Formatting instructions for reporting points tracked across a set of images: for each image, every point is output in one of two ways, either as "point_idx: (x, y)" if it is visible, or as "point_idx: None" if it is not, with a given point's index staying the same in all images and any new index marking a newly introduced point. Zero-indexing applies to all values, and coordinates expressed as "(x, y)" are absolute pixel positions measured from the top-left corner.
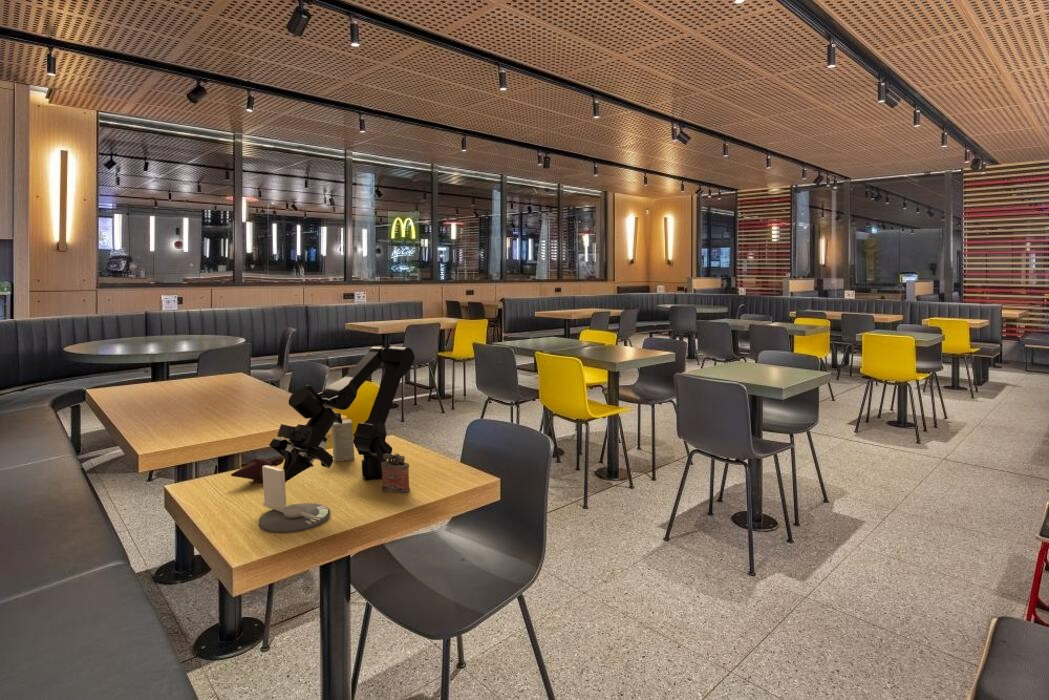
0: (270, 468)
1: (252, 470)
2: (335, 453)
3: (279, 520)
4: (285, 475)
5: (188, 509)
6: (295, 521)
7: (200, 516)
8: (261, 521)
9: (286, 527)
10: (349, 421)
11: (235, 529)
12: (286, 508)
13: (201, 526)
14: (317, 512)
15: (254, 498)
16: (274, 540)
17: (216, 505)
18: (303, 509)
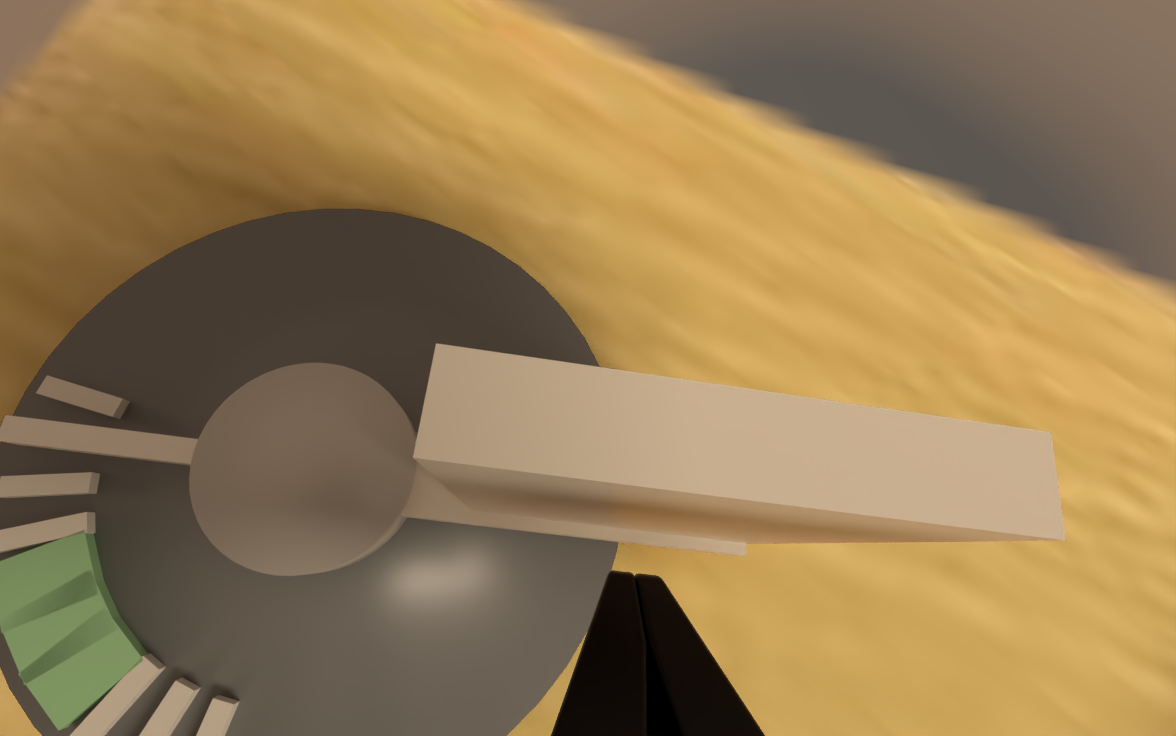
0: (785, 402)
1: None
2: None
3: (383, 344)
4: (586, 641)
5: (1161, 292)
6: (231, 378)
7: (987, 242)
8: (504, 278)
9: (224, 266)
10: None
11: (606, 178)
12: (383, 427)
13: (831, 143)
14: (159, 630)
15: (1030, 663)
16: (212, 142)
17: (1101, 415)
18: (189, 479)
